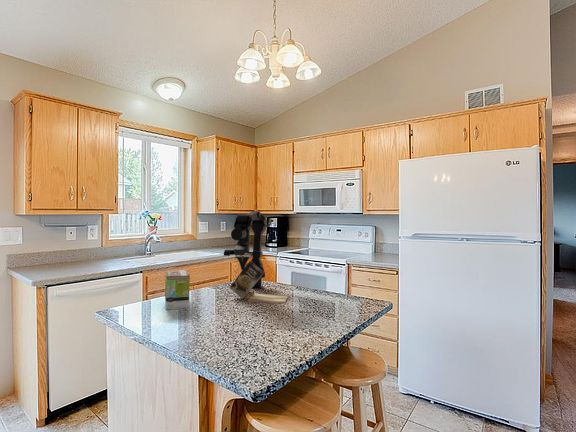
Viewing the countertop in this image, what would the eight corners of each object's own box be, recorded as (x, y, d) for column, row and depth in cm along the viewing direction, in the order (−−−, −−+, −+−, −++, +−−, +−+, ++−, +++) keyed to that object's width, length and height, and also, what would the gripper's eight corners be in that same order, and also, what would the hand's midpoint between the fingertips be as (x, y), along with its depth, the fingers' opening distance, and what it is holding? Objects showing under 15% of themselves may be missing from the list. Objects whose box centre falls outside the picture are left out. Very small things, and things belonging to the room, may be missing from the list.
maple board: (253, 295, 171) (253, 293, 171) (288, 296, 168) (288, 295, 168) (247, 301, 158) (247, 300, 158) (284, 303, 155) (284, 301, 155)
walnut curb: (251, 294, 172) (251, 289, 172) (254, 294, 172) (254, 289, 172) (244, 301, 158) (244, 296, 158) (247, 301, 158) (247, 296, 158)
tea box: (189, 308, 146) (190, 274, 146) (165, 310, 142) (165, 276, 142) (186, 299, 160) (187, 269, 160) (164, 301, 156) (165, 270, 156)
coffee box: (228, 287, 163) (247, 262, 161) (232, 285, 169) (251, 260, 167) (242, 299, 162) (262, 274, 160) (246, 296, 168) (265, 271, 166)
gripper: (220, 239, 159) (219, 271, 159) (258, 240, 156) (257, 274, 156) (227, 238, 170) (226, 268, 170) (263, 239, 167) (262, 270, 167)
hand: (242, 270), depth 165 cm, fingers closed
